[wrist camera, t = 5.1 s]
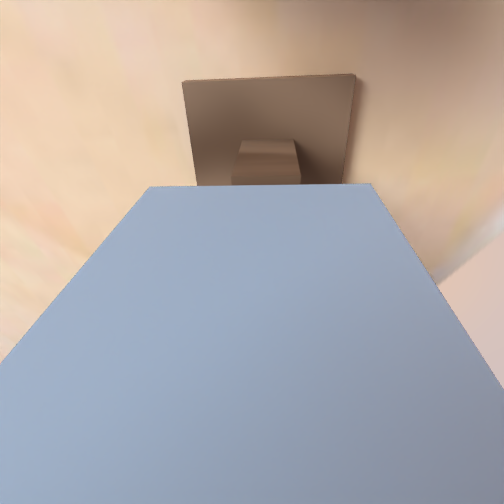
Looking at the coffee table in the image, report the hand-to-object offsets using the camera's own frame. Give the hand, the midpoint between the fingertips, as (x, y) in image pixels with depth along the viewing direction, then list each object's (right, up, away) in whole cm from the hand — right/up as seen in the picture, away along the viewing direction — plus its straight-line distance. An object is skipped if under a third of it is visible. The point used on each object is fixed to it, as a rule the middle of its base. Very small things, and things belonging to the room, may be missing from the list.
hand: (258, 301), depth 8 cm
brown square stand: (+1, +6, +9) cm, 11 cm away
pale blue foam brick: (0, +1, +1) cm, 1 cm away
